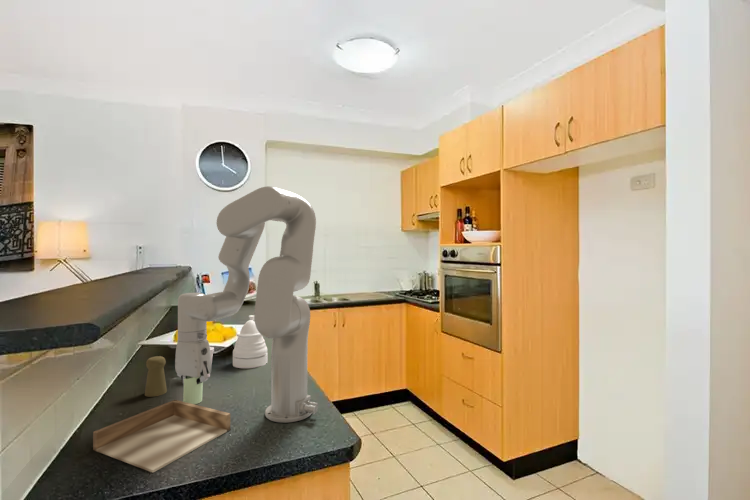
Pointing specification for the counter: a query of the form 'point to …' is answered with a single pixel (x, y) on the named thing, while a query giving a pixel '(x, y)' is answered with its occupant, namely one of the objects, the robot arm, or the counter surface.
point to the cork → (155, 377)
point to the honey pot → (249, 347)
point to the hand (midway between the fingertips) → (192, 399)
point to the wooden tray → (161, 434)
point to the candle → (192, 390)
